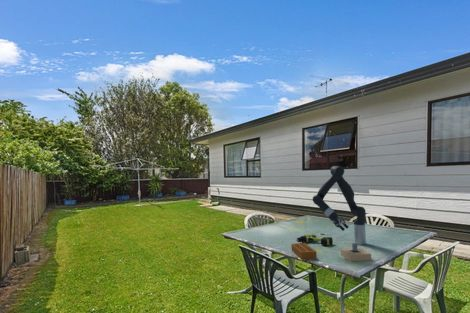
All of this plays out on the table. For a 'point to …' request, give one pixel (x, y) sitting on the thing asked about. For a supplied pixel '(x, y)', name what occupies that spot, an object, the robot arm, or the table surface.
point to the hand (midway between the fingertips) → (346, 229)
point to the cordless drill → (315, 239)
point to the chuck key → (354, 247)
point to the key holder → (355, 254)
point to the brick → (304, 251)
